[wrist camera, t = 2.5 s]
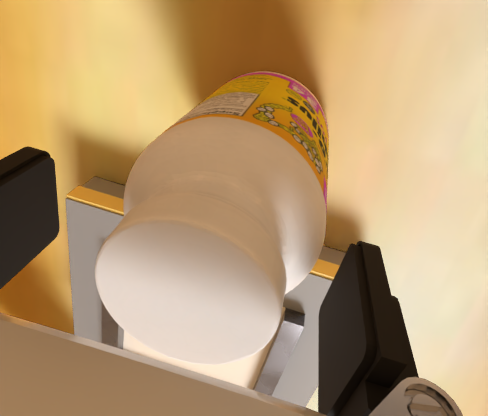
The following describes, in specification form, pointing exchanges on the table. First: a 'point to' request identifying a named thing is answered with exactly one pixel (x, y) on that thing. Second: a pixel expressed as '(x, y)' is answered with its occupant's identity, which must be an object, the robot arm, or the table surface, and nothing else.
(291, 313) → the bay rails
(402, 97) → the table surface
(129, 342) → the loading dock
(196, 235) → the supplement bottle
